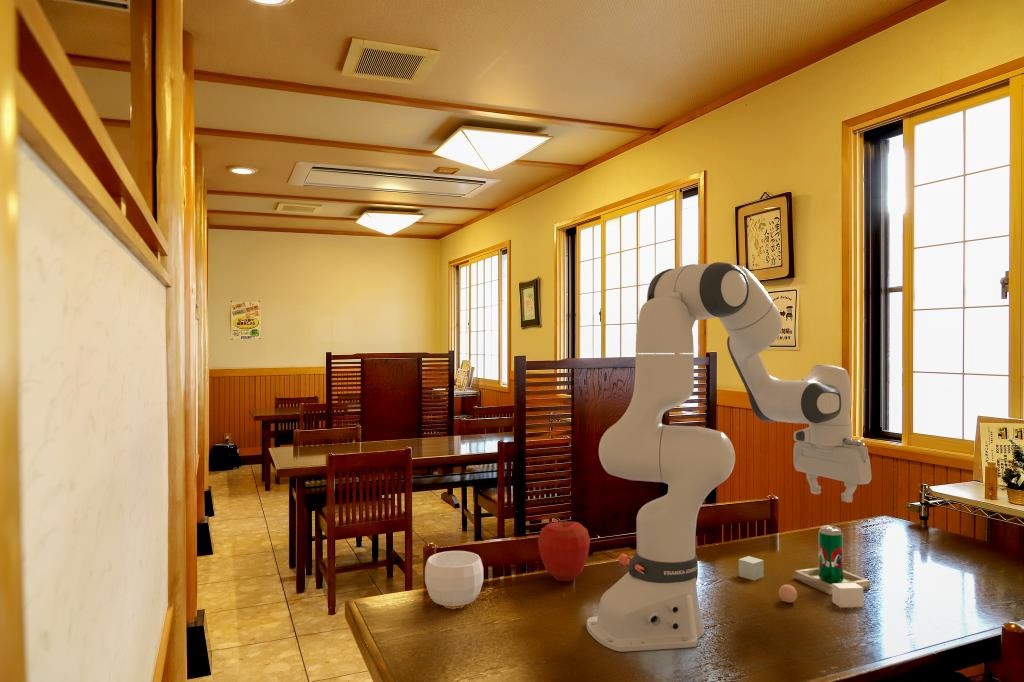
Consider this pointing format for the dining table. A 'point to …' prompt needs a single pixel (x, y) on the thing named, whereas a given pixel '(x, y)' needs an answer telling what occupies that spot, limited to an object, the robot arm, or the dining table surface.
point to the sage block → (751, 568)
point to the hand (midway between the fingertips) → (830, 497)
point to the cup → (454, 577)
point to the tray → (813, 580)
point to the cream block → (847, 594)
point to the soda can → (830, 554)
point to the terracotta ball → (787, 593)
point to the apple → (564, 549)
